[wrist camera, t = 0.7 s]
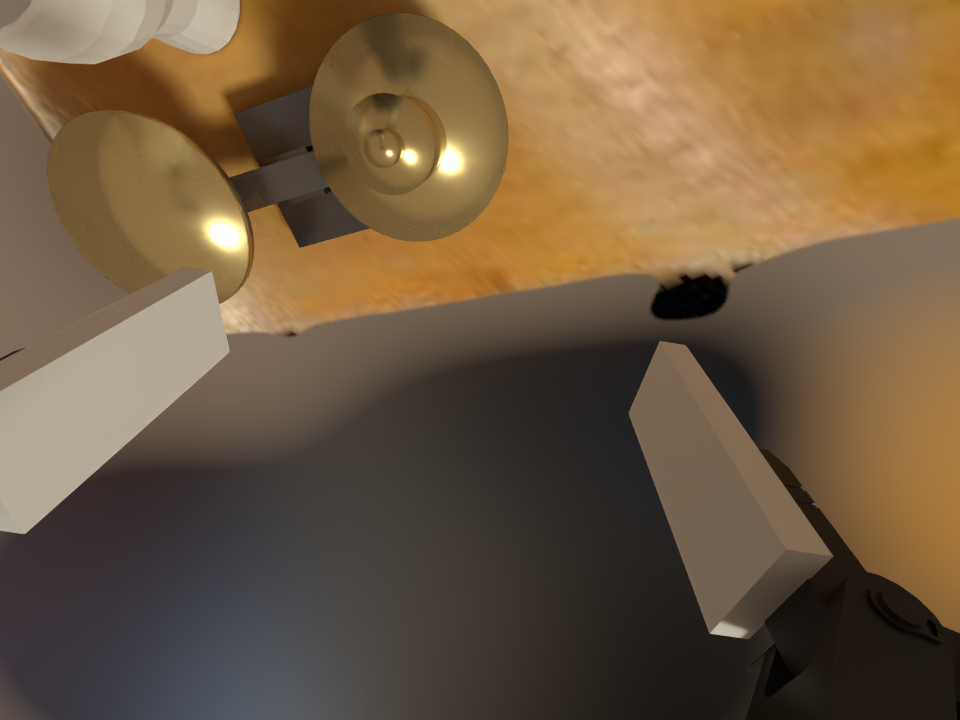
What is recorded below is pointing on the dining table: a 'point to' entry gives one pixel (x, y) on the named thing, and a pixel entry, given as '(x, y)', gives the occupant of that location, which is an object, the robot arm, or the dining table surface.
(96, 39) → the cup
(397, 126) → the balance
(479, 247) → the dining table surface
